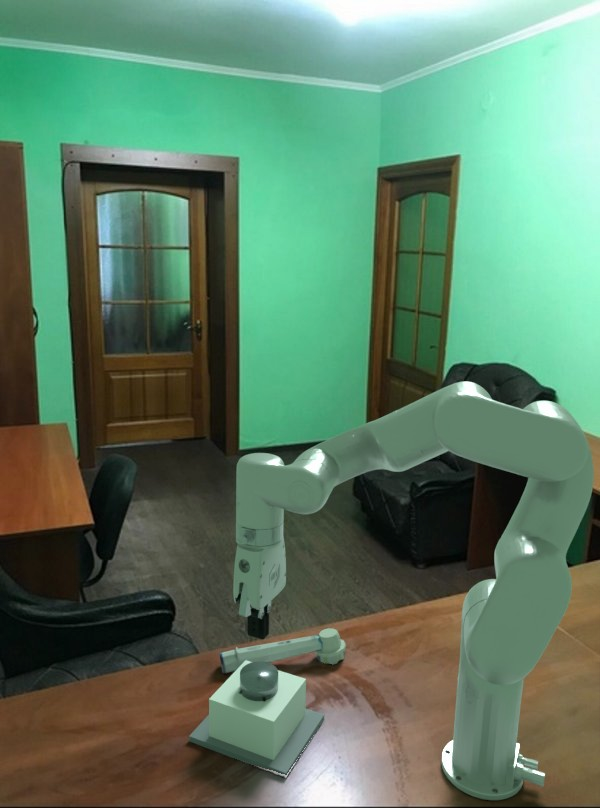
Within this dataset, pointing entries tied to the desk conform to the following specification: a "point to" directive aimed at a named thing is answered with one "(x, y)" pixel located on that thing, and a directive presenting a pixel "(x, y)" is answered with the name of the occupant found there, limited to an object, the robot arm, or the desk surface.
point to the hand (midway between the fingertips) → (258, 634)
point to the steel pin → (259, 681)
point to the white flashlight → (288, 650)
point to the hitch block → (259, 724)
